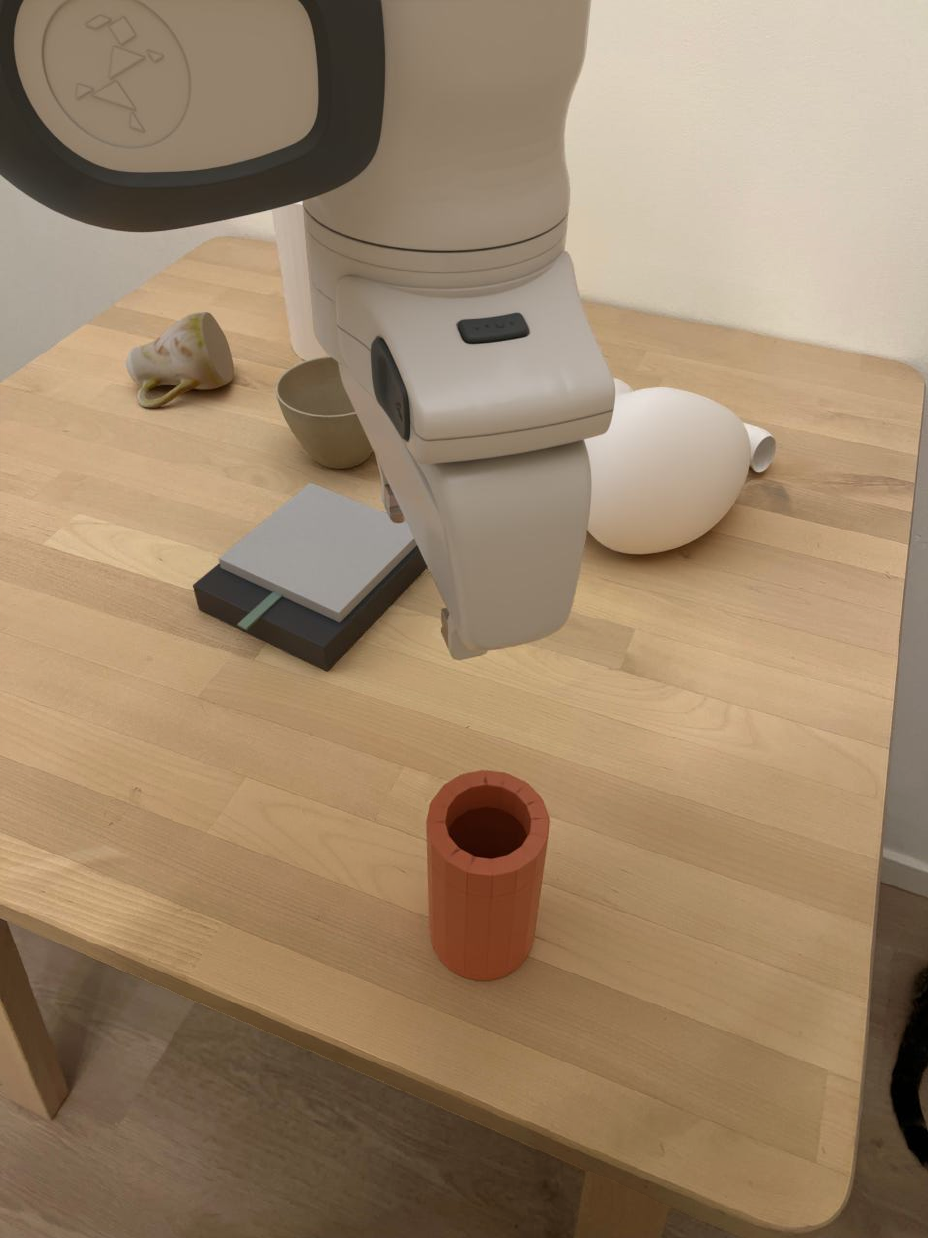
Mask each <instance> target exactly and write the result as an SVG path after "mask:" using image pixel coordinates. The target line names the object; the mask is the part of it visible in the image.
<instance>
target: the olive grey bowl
mask: <svg viewBox="0 0 928 1238" xmlns="http://www.w3.org/2000/svg"><path fill="white" fill-rule="evenodd" d="M274 392H275V396H276V399H277V402H278V405H279V408H280V411H281V413H282V415H283V417H284V420H285V421H286V424H287V426H288V427H289V429H290V431H291V433H292V434H293V435H294V437H295V439H296V440H297V441H298V442H299V444H300V445H301V446H302V448H303V449H304V450H305V451H306V453H308V455H309V456H311V457H312V459H314V460H315V462H317V463H318V464H320V465H321V466H323V467H325V468H328V469H333V470H345V469H351V468H355V467H357V466H359V465H361V464H363V463H364V462H365V461H366V460H367V459H369V457H370V455H371V454H372V452H374V451H373V449H372V446H371V444H370V442H369V440H368V438H367V436H366V434H365V431H364V429H363V427H362V425H361V423H360V421H359V418H358V416H357V414H356V412H355V410H354V408H353V406H352V403H351V401H350V399H349V397H348V395H347V393H346V391H345V389H344V386H343V383H342V380H341V375H340V371H339V365H338V362H337V361H336V360H335V359H333V358H332V357H331V356H330V355H328V356H321V357H316V358H312V359H308V360H302V361H300V362H298V363H296V364H294V365H292V366H291V367H289V368H287V370H285V371H283V373H282V374H281V375H280V376H279V377H278V379H277V381H276V382H275V387H274Z"/></svg>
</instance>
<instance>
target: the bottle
mask: <svg viewBox="0 0 928 1238" xmlns="http://www.w3.org/2000/svg"><path fill="white" fill-rule="evenodd" d="M271 213H272V220H273V228H274V235H275V241H276V249H277V255H278V261H279V262H278V263H279V269H280V275H281V282H282V290H283V296H284V297H283V298H284V303H285V311H286V316H287V324H288V330H289V338H290V343H291V349H292V351H293V352H294V354H295V355H296V356H297V357H299V358H300V359H302V361H305V360H308V359H312V358H316V357H321V356H328V355H329V354H328V353H327V352H326V351H325V350H324V349H323V348H322V347H321V345H320V344H319V342H318V340H317V339H316V336H315V333H314V329H313V318H312V307H311V295H310V284H309V273H308V262H307V250H306V239H305V227H304V214H303V201H301V202H298V203H294V204H291V205H287V206H283V207H279V208H276V209H272V210H271Z"/></svg>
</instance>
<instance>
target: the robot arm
mask: <svg viewBox="0 0 928 1238" xmlns="http://www.w3.org/2000/svg"><path fill="white" fill-rule="evenodd" d="M591 7H592V0H0V176H1V177H2V178H3V179H5V180H6V181H7V182H8V183H10V184H11V185H12V186H13V187H15V188H16V189H18V190H19V191H20V192H22V193H23V194H25V195H26V196H28V197H29V198H31V199H32V200H34V201H35V202H37V203H39V204H41V205H42V206H45V207H46V208H48V209H50V210H52V211H53V212H56V213H57V214H60V215H63V216H64V217H67V218H70V219H71V220H75V221H78V222H80V223H83V224H86V225H90V226H93V227H97V228H101V229H105V230H111V231H117V232H125V233H126V232H127V233H155V232H166V231H172V230H180V229H185V228H191V227H196V226H202V225H207V224H213V223H218V222H222V221H228V220H231V219H236V218H240V217H246V216H250V215H255V214H260V213H264V212H268V211H272V209H276V208H279V207H283V206H287V205H291V204H294V203H298V202H301V201H303V214H304V227H305V239H306V250H307V262H308V273H309V284H310V295H311V307H312V318H313V329H314V333H315V336H316V339H317V340H318V342H319V344H320V345H321V347H322V348H323V349H324V350H325V351H326V352H327V353H328V354H329V355H330V356H331V357H332V358H333V359H335V360H336V361H337V362H338V365H339V371H340V375H341V380H342V383H343V386H344V389H345V391H346V393H347V395H348V397H349V399H350V401H351V403H352V406H353V408H354V410H355V412H356V414H357V416H358V418H359V421H360V423H361V425H362V427H363V429H364V431H365V434H366V436H367V438H368V440H369V442H370V444H371V446H372V449H373V451H372V452H373V453H374V455H375V459H376V463H377V468H378V472H379V476H380V477H379V478H380V485H381V502H382V504H383V507H384V509H385V511H386V513H388V515H389V517H390V519H391V520H392V521H393V523H403V522H405V521H406V522H407V524H408V526H409V528H410V530H411V533H412V535H413V537H414V539H415V541H416V543H417V545H418V548H419V550H420V552H421V554H422V556H423V558H424V560H425V563H426V565H427V569H428V571H429V573H430V576H431V577H432V580H433V582H434V585H435V586H436V588H437V591H438V593H439V595H440V597H441V599H442V602H443V603H444V605H445V607H444V608H441V609H440V622H441V627H440V633H441V636H442V638H443V640H444V643H445V645H446V647H447V650H448V652H449V654H450V656H451V658H452V659H453V660H455V661H462V660H467V659H472V658H476V657H480V656H483V655H486V654H487V653H488V652H490V651H496V650H497V651H498V650H503V649H508V648H513V647H518V646H522V645H526V644H531V643H533V642H537V641H541V640H543V639H546V638H548V637H550V636H552V635H554V634H556V633H557V632H559V631H560V630H561V629H563V627H564V626H565V625H566V624H567V622H568V619H570V618H569V617H570V615H571V613H572V609H573V605H574V602H575V597H576V594H577V593H576V592H577V587H578V583H579V580H580V579H579V578H580V573H581V568H582V562H583V557H584V551H585V545H586V541H587V532H588V530H587V527H588V521H589V514H590V505H591V487H592V483H591V467H590V461H589V456H588V451H587V448H586V444H585V441H584V439H588V438H591V437H595V436H599V435H602V434H604V433H606V432H607V430H608V429H609V427H610V424H611V420H612V416H613V410H614V404H615V383H614V379H613V378H614V376H613V372H612V370H611V368H610V366H609V363H608V361H607V359H606V357H605V355H604V352H603V350H602V348H601V347H600V343H599V342H598V339H597V338H596V335H595V333H594V330H593V329H592V326H591V324H590V321H589V319H588V316H587V313H586V310H585V308H584V305H583V302H582V299H581V295H580V291H579V287H578V282H577V277H576V270H575V265H574V262H573V259H572V256H571V254H570V253H569V252H568V251H567V250H566V243H567V233H568V222H569V214H570V213H569V211H570V206H571V182H570V176H569V175H570V174H569V170H568V164H567V160H566V159H567V158H566V157H567V156H566V143H565V142H566V139H565V138H566V135H565V134H566V125H567V117H568V113H569V109H570V104H571V100H572V97H573V94H574V91H575V89H576V86H577V84H578V81H579V78H580V76H581V73H582V71H583V67H584V63H585V60H586V54H587V47H588V38H589V27H590V17H591Z"/></svg>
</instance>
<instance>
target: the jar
mask: <svg viewBox="0 0 928 1238" xmlns="http://www.w3.org/2000/svg"><path fill="white" fill-rule="evenodd" d="M550 823H551V819H550V815H549V812H548V809H547V806H546V804H545V801H544V799H543V798H542V796H541V795H540V794H539V793H538V792H537V791H536V790H535V789H534V787H532V786H531V785H530V784H529V783H528V782H526V781H525V780H523V779H521V778H518V777H517V776H514V775H512V774H510V773H507V772H503V771H495V770H487V769H481V770H476V771H470V772H465V773H461V774H459V775H458V776H456V777H454V778H453V779H452V780H449V781H448V782H446V783H444V784H443V786H441V788H440V789H439V791H438V792H437V793H436V795H434V797H433V798H432V799H431V801H430V803H429V807H428V811H427V817H426V821H425V826H426V830H425V831H426V863H427V865H426V866H427V898H428V899H427V901H428V903H427V904H428V928H429V933H430V934H429V935H430V942H431V944H432V948H433V950H434V952H435V954H436V956H437V958H438V959H439V961H441V962H442V963H443V965H444V966H445V967H446V968H448V970H450V971H452V973H454V974H456V975H459V976H460V977H463V978H465V979H469V980H474V981H483V982H484V981H493V980H498V979H500V978H504V977H506V976H508V975H510V974H512V973H513V972H515V971H516V970H517V969H518V968H520V967H521V965H523V963H524V962H525V961H526V959H527V958H528V957H529V955H530V953H531V951H532V948H533V944H534V942H535V936H536V927H537V920H538V914H539V906H540V899H541V891H542V886H543V885H542V884H543V879H544V871H545V865H546V858H547V857H546V856H547V850H548V843H549V834H550Z"/></svg>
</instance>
